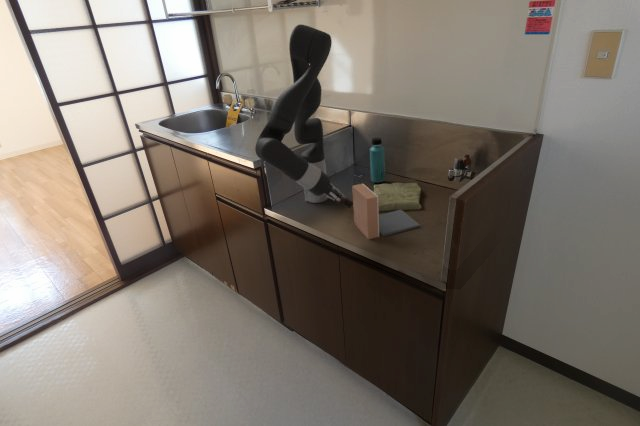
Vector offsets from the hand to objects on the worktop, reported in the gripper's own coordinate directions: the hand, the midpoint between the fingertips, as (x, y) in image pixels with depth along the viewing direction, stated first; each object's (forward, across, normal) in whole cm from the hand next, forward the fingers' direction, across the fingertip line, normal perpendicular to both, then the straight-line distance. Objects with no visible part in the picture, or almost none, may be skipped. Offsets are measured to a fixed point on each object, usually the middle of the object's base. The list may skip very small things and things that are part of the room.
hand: (350, 205), depth 128 cm
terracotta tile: (+11, 0, +4) cm, 12 cm away
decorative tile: (+27, +17, -10) cm, 33 cm away
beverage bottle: (+27, +35, -11) cm, 45 cm away
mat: (+18, 0, -3) cm, 19 cm away
